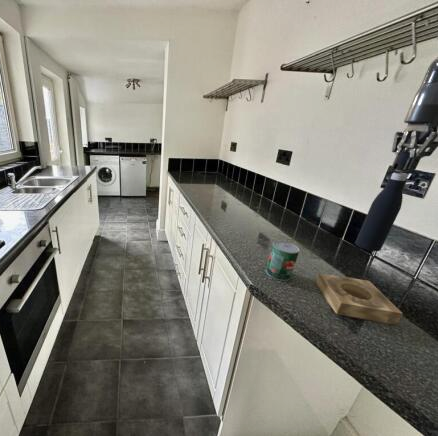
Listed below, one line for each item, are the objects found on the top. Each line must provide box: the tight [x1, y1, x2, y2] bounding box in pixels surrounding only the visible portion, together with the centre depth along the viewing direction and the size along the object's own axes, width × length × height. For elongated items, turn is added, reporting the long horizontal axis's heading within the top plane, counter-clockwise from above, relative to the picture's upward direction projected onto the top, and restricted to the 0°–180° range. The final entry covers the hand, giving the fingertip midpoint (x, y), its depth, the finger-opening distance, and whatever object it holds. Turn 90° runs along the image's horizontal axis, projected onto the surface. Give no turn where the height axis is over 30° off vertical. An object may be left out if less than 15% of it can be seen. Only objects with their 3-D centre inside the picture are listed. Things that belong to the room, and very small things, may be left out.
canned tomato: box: [265, 240, 301, 282], centre depth 79 cm, size 8×8×11 cm
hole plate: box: [315, 273, 404, 326], centre depth 68 cm, size 14×14×4 cm
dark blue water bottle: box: [354, 151, 411, 252], centre depth 70 cm, size 6×6×30 cm
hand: (402, 169), depth 66 cm, fingers closed on dark blue water bottle, 4 cm apart
